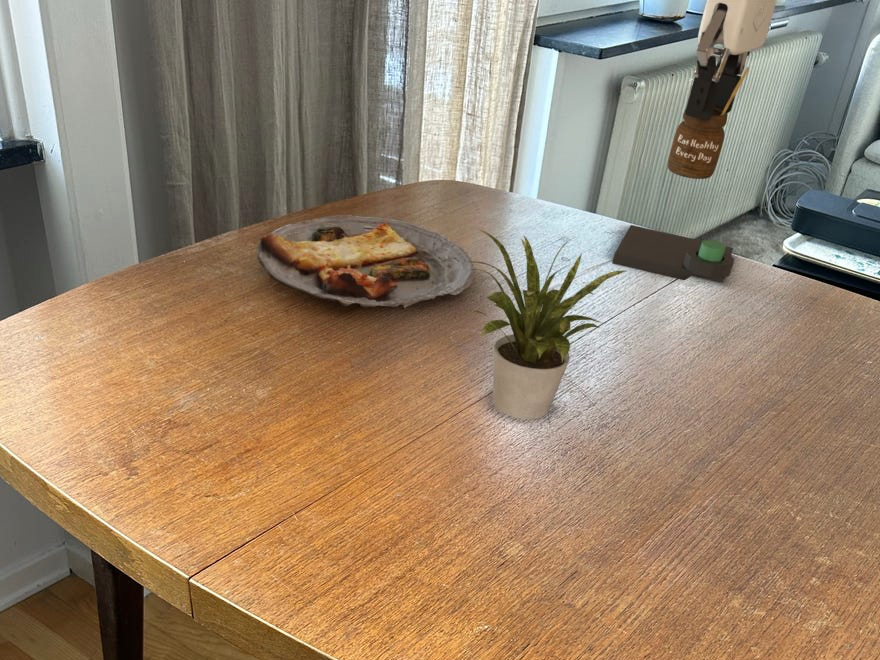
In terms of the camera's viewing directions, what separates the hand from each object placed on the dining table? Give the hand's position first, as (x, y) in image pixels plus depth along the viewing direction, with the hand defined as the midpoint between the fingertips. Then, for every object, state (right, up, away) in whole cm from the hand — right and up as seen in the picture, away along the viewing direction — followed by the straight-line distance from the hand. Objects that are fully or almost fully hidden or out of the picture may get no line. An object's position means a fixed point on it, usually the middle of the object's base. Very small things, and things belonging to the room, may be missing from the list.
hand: (708, 112), depth 114 cm
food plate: (-41, -21, -3) cm, 46 cm away
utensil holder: (-1, -5, +5) cm, 7 cm away
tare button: (+2, -16, +5) cm, 17 cm away
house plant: (-27, -42, -23) cm, 55 cm away
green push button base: (-1, -14, +10) cm, 17 cm away
